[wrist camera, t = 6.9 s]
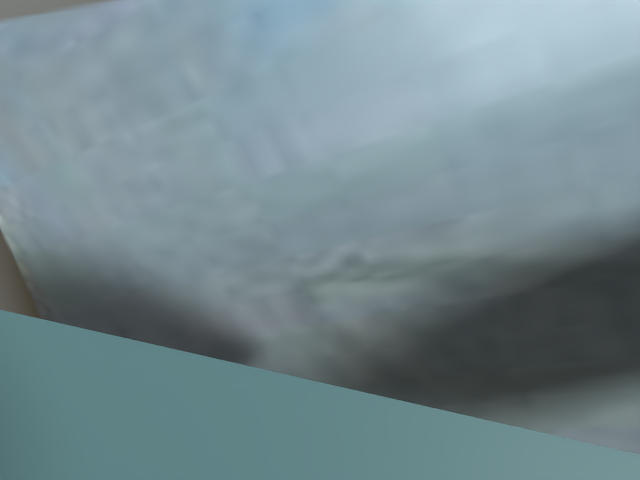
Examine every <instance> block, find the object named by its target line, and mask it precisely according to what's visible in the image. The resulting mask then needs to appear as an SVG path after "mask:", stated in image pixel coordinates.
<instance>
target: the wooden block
mask: <svg viewBox="0 0 640 480" xmlns="http://www.w3.org/2000/svg"><path fill="white" fill-rule="evenodd" d="M0 480H640V455H639V454H634V453H630V452H625V451H621V450H616V449H612V448H608V447H603V446H599V445H594V444H590V443H586V442H581V441H577V440H572V439H568V438H564V437H559V436H555V435H550V434H546V433H542V432H537V431H533V430H528V429H524V428H520V427H515V426H511V425H506V424H502V423H498V422H493V421H489V420H484V419H480V418H475V417H471V416H467V415H462V414H458V413H453V412H449V411H445V410H440V409H436V408H431V407H427V406H423V405H418V404H414V403H409V402H405V401H401V400H396V399H392V398H387V397H383V396H379V395H374V394H370V393H365V392H361V391H357V390H352V389H348V388H343V387H339V386H335V385H330V384H326V383H321V382H317V381H312V380H308V379H304V378H299V377H295V376H290V375H286V374H282V373H277V372H273V371H268V370H264V369H260V368H255V367H251V366H246V365H242V364H238V363H233V362H229V361H224V360H220V359H216V358H211V357H207V356H202V355H198V354H194V353H189V352H185V351H180V350H176V349H171V348H167V347H163V346H158V345H154V344H149V343H145V342H141V341H136V340H132V339H127V338H123V337H119V336H114V335H110V334H105V333H101V332H97V331H92V330H88V329H83V328H79V327H75V326H70V325H66V324H61V323H57V322H53V321H48V320H44V319H39V318H35V317H30V316H26V315H21V314H17V313H13V312H8V311H4V310H0Z"/></svg>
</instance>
